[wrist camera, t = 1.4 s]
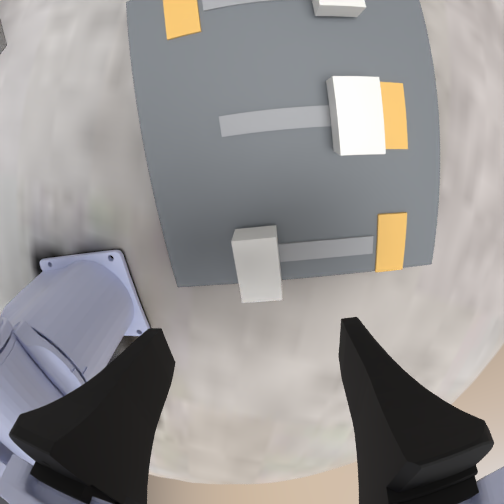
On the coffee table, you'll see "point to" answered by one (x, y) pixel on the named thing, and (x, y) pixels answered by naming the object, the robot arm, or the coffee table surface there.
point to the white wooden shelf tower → (2, 39)
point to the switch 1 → (257, 263)
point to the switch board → (284, 134)
